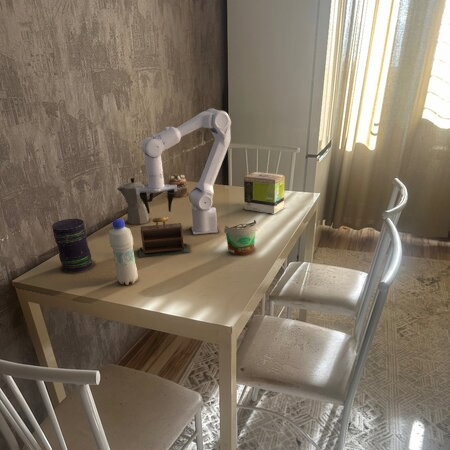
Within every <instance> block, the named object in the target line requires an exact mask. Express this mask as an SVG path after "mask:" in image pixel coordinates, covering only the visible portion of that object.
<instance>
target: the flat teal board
mask: <svg viewBox="0 0 450 450" xmlns="http://www.w3.org/2000/svg"><path fill="white" fill-rule="evenodd" d="M183 245H184V249H182V250H172V251H162V252H152V253H144V251H143V247H139V249H138V250H139V255H138V256H139V258H148V257H159V256H165V255H166V256H168V255H176V254H177V255H178V254H188V253H190V251H189V246H188V244H187V243H184V242H183Z"/></svg>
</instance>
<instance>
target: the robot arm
mask: <svg viewBox="0 0 450 450" xmlns="http://www.w3.org/2000/svg"><path fill="white" fill-rule="evenodd" d="M231 125H232V120H231V118H230V115H229V114H228V113H227V111H225V110H218V109H215V108H213V107H212V108H208V109H206V110H204V111H201V112H200V113H198V114H197V115H195V116H193V117H192V118H190V119H188V120H187V121H185V122H184V123H182V124H181V125H179V126H177V127H174V126H165V127H164V129H163V130H162V131H160V132H158V133H153V134H152V137H146V138H144V139H143V140H142V143H141V146H140V148H141V151H142V152H143V153H144V165H145V173H146V180H147V181H146V182H148V186H145V187H138V188H136V194H140V198H141V199H142V201H143V203H144V205H145V207H146V210H147V213H148V215H149V214H150V213H151V211H150V206H149V202H148V200H149V199H148V194H150V193H154V194H155V193H166V195H167V201H168V202H167V205H168V206H167V208H168V212H170V213H171V211H172V204H173V200H174V198H175V197H174V194H175V193H174V191H177V185H169V184H165V180H164V170H163V162H162V154H163V152H164V151H166V150H168V149H170V148H172V147H173V146H175V145H177V144H179V143H180V141H181V139H182V137H184V136H187V135H189V134H190V133H192V132H195V131H196V130H199V129H200V128H201V129H202V128H204V129H205V128H206V129H209V131H211V134H212V136H213V139H214V142H213V144H212V146H211V149H210V152H209V155H208V158H207V159H206V163H205V165H204V168H203V170H202V172H201V176H200V178H199V181H198V182H196V183H195V184H194V187H193V189H192V190H191V191H189V194H188V200H189V202H190V203H191V217H192V226H190V228H191V231H192V235H195V236H196V235H204V234H216V233H218V215H217V209H216V207H213V206H212V205H213V199H214V194H215V192H214V185H215V183H216V179H217V177H218V174H219V171H220V169H221V166H222V164H223V161H224V159H225V157H226V154H227V151H228V149H229V146H230V143H231V140H232V137H231Z"/></svg>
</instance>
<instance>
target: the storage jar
mask: <svg viewBox="0 0 450 450" xmlns="http://www.w3.org/2000/svg"><path fill="white" fill-rule="evenodd" d="M51 229H52V233H53V238H54V242H55V244H56V245H57V250H58V257H59V261H60V264H61V266H62V270H63V272H65V273H67V274H77V273H82V272H85V271H87V270H89V269H91V268H92V267H93V265H94V264H93V263H94V262H93V259H92V253H91V249H90V247H89V244H88V234H87V229H86V227H85V222H84V220H83V219H80V218H66V219H62V220H57V221H55V222H54V223H52V224H51Z"/></svg>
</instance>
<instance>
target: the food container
mask: <svg viewBox="0 0 450 450" xmlns="http://www.w3.org/2000/svg"><path fill="white" fill-rule="evenodd" d="M258 228H259V227H258V223H257V220H255V219H253V221H251V222H249V223H239V224H237V225H234V226H230V227H229V226H227V225H225V226H224V229H223V232H224V233H225V235H226V245H227V251H228V253H229V254H230V255H232V256H233V255H234V256H248V255H250V254H253V252H254V250H255V243H256V241H255V240H256V233H257V232H258Z"/></svg>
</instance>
